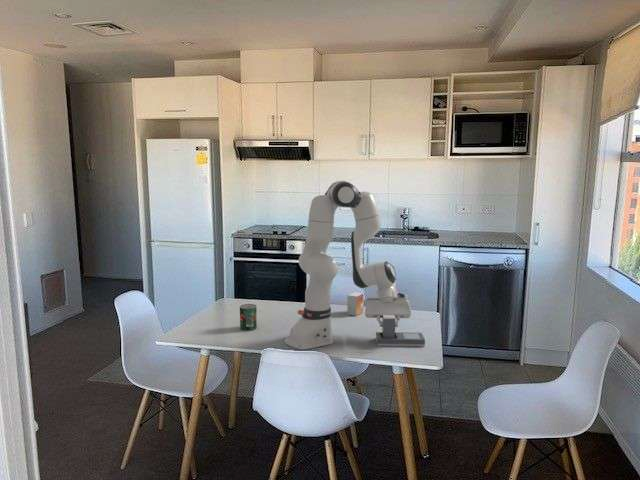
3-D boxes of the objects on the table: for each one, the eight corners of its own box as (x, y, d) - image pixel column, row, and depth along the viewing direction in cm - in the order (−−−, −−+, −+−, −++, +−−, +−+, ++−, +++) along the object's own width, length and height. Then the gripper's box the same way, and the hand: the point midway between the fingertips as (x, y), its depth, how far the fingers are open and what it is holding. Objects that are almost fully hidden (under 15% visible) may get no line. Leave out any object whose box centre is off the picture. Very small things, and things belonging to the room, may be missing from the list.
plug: (383, 339, 210) (383, 317, 208) (382, 335, 215) (382, 314, 213) (394, 340, 210) (395, 317, 208) (393, 336, 215) (394, 314, 213)
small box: (356, 316, 251) (356, 296, 249) (346, 314, 254) (347, 295, 252) (363, 312, 258) (363, 293, 256) (354, 310, 261) (354, 291, 259)
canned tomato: (236, 328, 231) (236, 306, 230) (249, 324, 237) (249, 302, 235) (247, 332, 226) (246, 309, 224) (260, 328, 232) (259, 306, 230)
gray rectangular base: (377, 346, 208) (377, 339, 208) (375, 339, 217) (376, 332, 217) (424, 347, 208) (425, 339, 207) (421, 340, 217) (421, 332, 216)
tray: (378, 338, 218) (379, 337, 218) (377, 331, 228) (377, 330, 228) (401, 339, 218) (401, 337, 218) (398, 331, 228) (398, 330, 228)
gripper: (364, 294, 217) (365, 322, 209) (410, 294, 216) (413, 323, 208) (363, 301, 222) (364, 329, 214) (408, 301, 221) (411, 329, 213)
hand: (388, 326), depth 211 cm, fingers closed on plug, 5 cm apart
